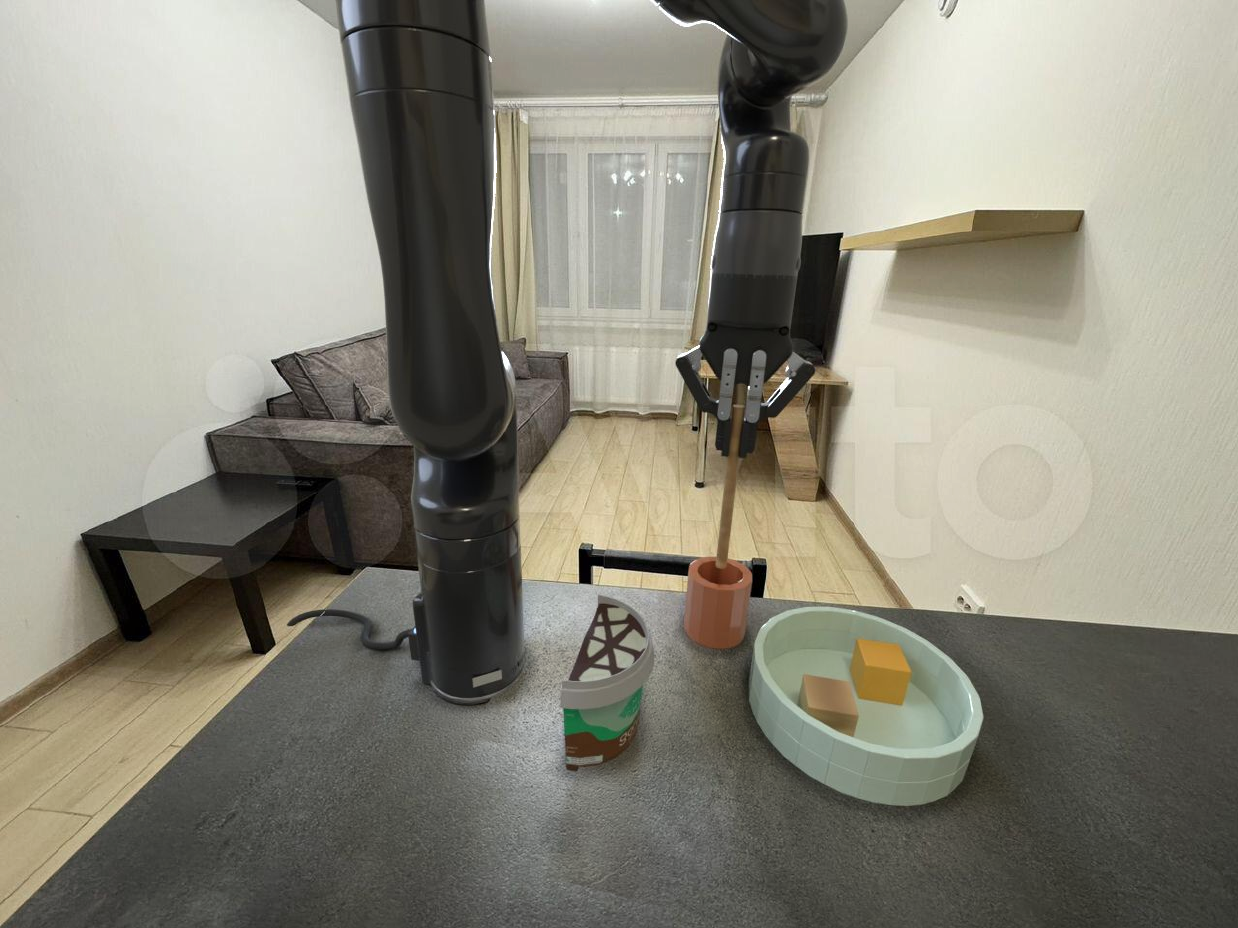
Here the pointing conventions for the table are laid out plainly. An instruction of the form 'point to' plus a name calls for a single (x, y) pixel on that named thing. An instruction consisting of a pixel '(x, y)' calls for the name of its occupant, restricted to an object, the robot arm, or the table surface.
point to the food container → (606, 685)
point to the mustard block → (880, 671)
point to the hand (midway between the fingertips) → (733, 454)
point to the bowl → (865, 709)
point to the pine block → (829, 703)
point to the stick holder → (717, 603)
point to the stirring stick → (730, 486)
